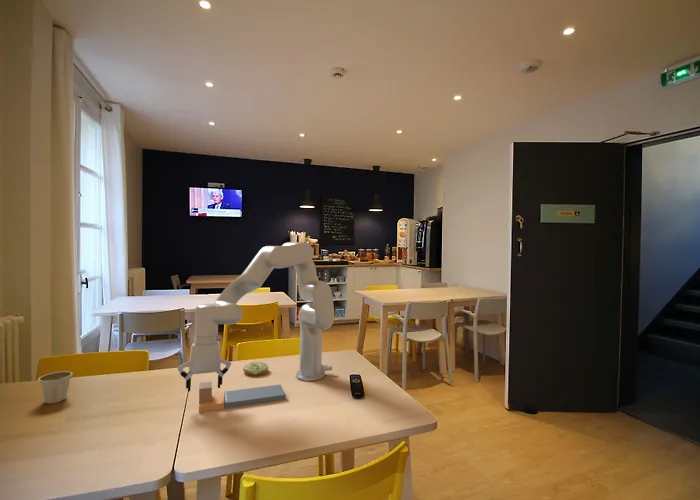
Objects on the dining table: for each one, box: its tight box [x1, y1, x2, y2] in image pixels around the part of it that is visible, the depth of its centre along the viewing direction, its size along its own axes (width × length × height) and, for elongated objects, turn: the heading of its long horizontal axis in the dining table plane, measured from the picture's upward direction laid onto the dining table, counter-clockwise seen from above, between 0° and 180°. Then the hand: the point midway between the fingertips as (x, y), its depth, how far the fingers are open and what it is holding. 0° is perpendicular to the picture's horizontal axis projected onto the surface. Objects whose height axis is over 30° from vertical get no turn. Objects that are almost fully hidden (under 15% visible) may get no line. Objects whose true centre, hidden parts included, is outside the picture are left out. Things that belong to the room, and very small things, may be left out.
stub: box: [198, 381, 225, 413], centre depth 123 cm, size 8×10×7 cm
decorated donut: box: [242, 361, 269, 377], centre depth 155 cm, size 10×11×4 cm
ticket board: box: [223, 384, 287, 410], centre depth 129 cm, size 21×10×2 cm, turn 112°
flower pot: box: [37, 371, 73, 404], centre depth 124 cm, size 9×9×9 cm
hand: (204, 388), depth 122 cm, fingers open, 9 cm apart
